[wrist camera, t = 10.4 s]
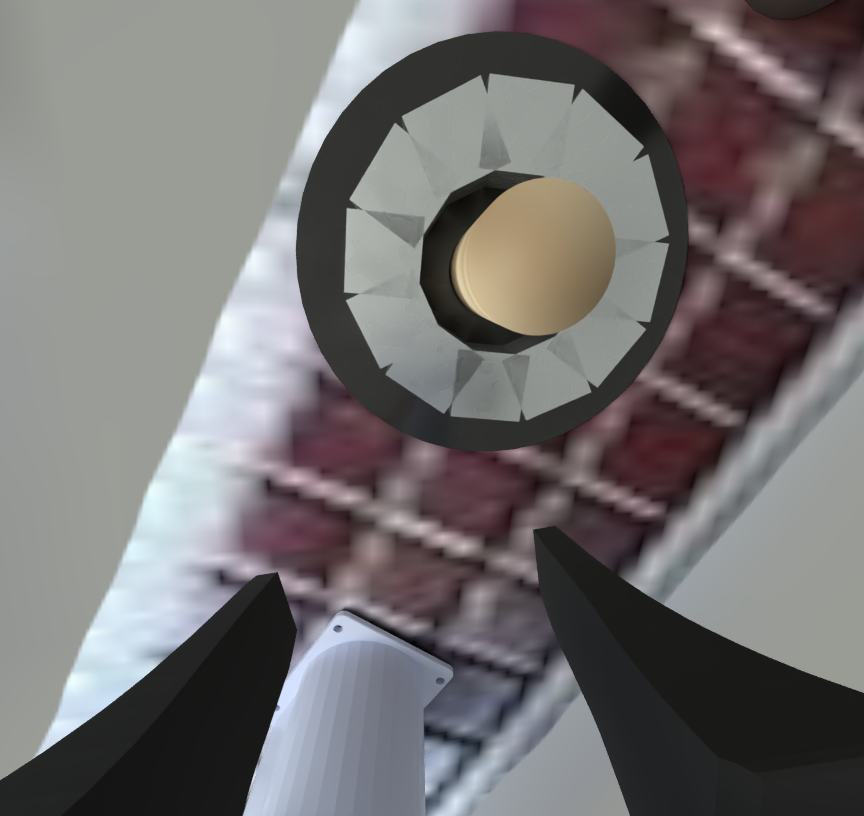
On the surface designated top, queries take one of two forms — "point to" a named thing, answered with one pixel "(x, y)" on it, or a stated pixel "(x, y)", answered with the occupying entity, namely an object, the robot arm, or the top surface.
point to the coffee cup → (788, 7)
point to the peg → (536, 258)
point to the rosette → (457, 211)
